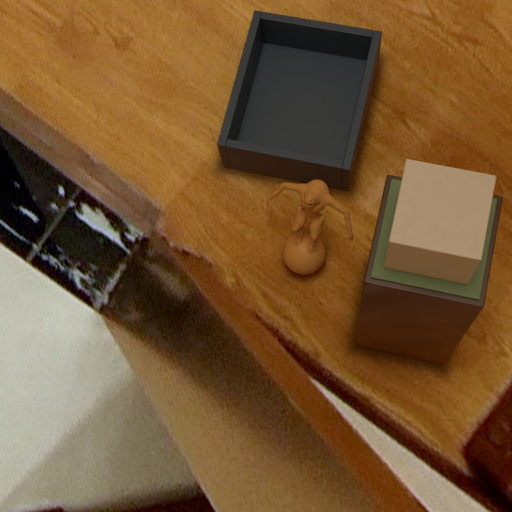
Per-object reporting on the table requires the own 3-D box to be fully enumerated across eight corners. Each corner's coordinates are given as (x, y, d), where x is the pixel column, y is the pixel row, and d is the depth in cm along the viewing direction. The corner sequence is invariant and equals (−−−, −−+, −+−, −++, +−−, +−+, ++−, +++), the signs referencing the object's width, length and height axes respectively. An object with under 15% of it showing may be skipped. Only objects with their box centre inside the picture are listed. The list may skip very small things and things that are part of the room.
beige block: (481, 206, 58) (496, 175, 53) (467, 285, 56) (481, 260, 51) (399, 191, 59) (406, 158, 54) (383, 267, 57) (388, 241, 52)
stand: (458, 281, 79) (503, 196, 58) (443, 365, 77) (483, 307, 56) (373, 264, 81) (387, 173, 60) (355, 346, 78) (363, 282, 57)
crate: (379, 59, 87) (382, 30, 82) (349, 191, 83) (350, 170, 78) (258, 38, 89) (254, 9, 84) (223, 167, 85) (216, 144, 80)
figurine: (256, 259, 82) (243, 216, 70) (284, 205, 83) (276, 155, 72) (335, 296, 80) (335, 258, 69) (362, 240, 81) (367, 194, 70)
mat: (496, 200, 58) (497, 198, 58) (478, 300, 56) (479, 299, 56) (391, 180, 59) (391, 178, 59) (370, 278, 58) (370, 276, 57)
